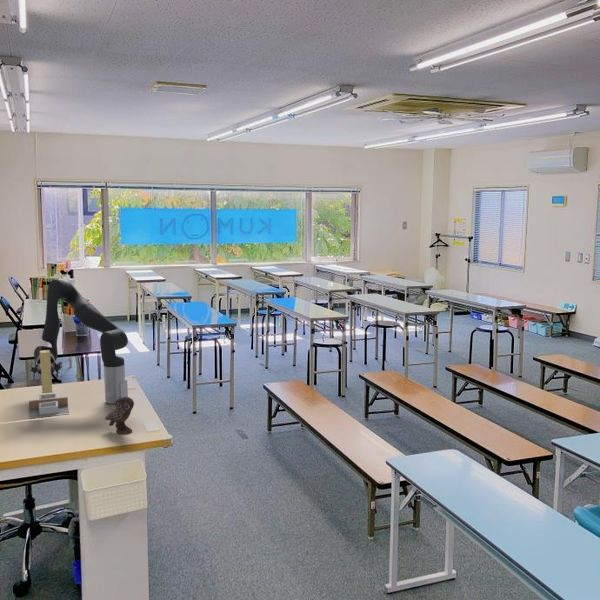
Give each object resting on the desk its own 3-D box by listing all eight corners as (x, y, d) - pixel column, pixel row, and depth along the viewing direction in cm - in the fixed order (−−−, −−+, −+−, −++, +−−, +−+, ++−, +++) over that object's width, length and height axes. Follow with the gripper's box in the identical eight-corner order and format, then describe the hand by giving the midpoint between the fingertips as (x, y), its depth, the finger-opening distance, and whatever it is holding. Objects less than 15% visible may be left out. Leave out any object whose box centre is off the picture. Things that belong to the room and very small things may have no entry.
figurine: (103, 430, 252) (103, 394, 249) (112, 425, 257) (112, 390, 254) (127, 437, 247) (128, 401, 244) (137, 432, 252) (137, 397, 249)
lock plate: (30, 403, 289) (29, 393, 289) (67, 398, 295) (66, 390, 295) (28, 419, 267) (28, 409, 267) (69, 414, 273) (68, 404, 272)
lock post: (42, 390, 275) (39, 350, 272) (52, 389, 277) (49, 349, 274) (42, 393, 271) (39, 352, 269) (52, 392, 273) (49, 352, 270)
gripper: (28, 355, 282) (27, 364, 267) (62, 352, 288) (63, 361, 272) (29, 371, 284) (28, 381, 268) (63, 368, 289) (64, 378, 273)
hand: (46, 371), depth 270 cm, fingers closed on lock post, 4 cm apart
